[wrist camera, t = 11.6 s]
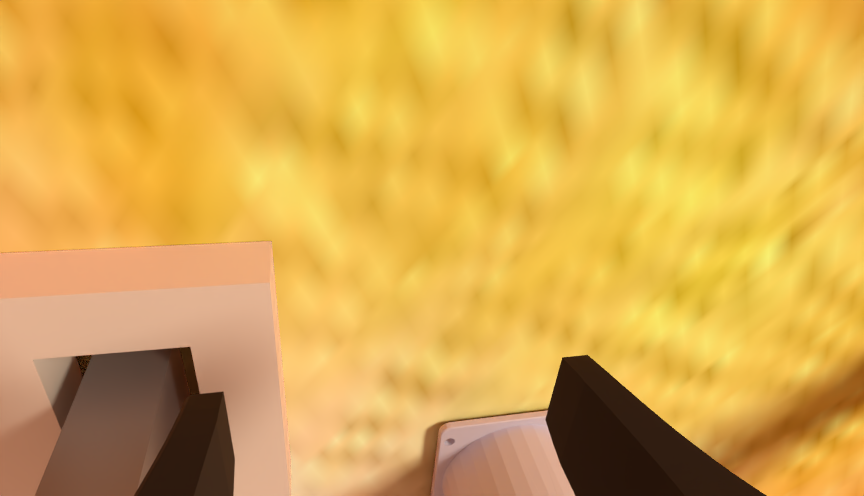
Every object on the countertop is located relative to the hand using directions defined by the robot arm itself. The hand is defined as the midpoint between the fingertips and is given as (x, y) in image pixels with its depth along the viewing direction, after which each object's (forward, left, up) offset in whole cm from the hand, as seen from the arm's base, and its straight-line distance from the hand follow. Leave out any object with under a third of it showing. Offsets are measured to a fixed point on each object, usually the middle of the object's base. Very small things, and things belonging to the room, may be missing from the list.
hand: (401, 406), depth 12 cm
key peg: (-8, +8, -9) cm, 15 cm away
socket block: (-8, +8, -9) cm, 14 cm away
